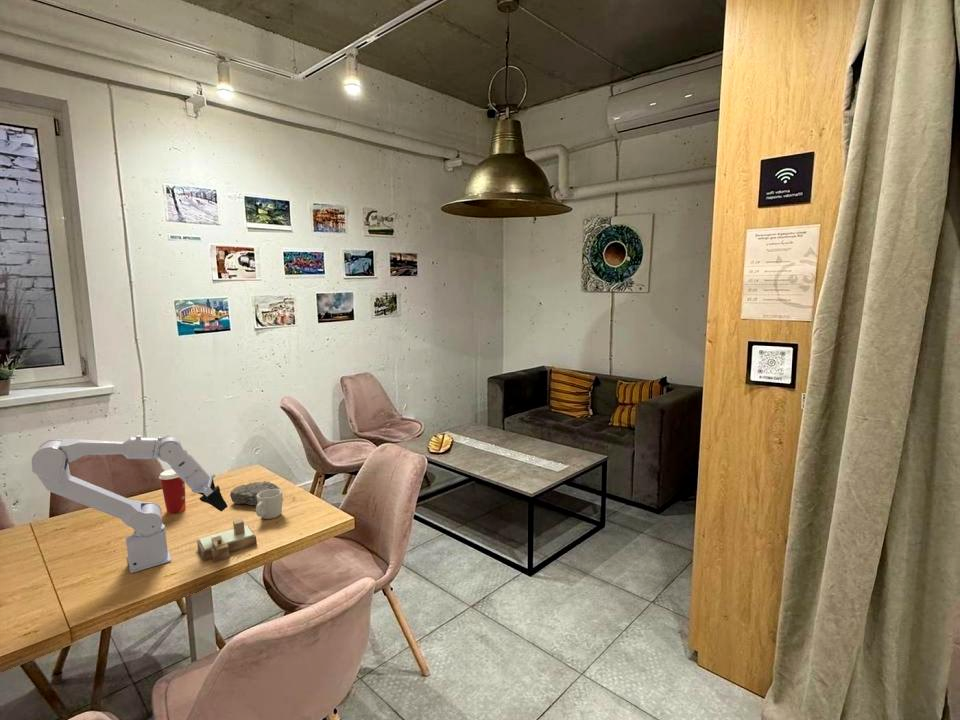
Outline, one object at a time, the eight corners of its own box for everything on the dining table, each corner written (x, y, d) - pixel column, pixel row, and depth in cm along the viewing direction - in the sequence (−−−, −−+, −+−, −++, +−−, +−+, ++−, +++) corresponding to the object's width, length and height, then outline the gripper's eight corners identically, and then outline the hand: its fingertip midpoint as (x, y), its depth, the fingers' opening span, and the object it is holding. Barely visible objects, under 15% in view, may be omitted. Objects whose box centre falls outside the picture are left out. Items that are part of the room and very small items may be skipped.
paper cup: (193, 508, 174) (189, 470, 172) (170, 517, 168) (165, 477, 166) (181, 504, 178) (177, 466, 176) (158, 512, 172) (154, 473, 170)
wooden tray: (205, 565, 137) (204, 553, 136) (197, 548, 146) (196, 537, 145) (259, 548, 145) (258, 537, 145) (248, 533, 155) (247, 523, 154)
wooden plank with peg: (215, 550, 138) (215, 542, 138) (211, 542, 143) (210, 534, 142) (225, 547, 139) (224, 539, 139) (220, 539, 144) (220, 532, 144)
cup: (269, 526, 159) (267, 502, 158) (247, 524, 161) (245, 500, 160) (288, 511, 170) (287, 489, 169) (268, 510, 171) (266, 487, 170)
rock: (285, 498, 182) (256, 493, 188) (284, 480, 182) (255, 476, 188) (257, 511, 171) (227, 505, 177) (255, 492, 170) (225, 487, 177)
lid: (204, 550, 139) (203, 537, 139) (199, 540, 146) (197, 527, 145) (253, 536, 147) (252, 522, 147) (246, 526, 153) (245, 514, 153)
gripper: (208, 468, 139) (239, 502, 144) (199, 457, 150) (228, 489, 156) (184, 485, 135) (217, 520, 141) (177, 473, 147) (207, 505, 152)
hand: (221, 505), depth 148 cm, fingers open, 7 cm apart
